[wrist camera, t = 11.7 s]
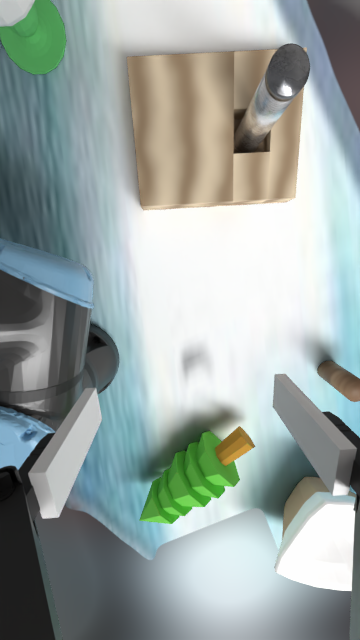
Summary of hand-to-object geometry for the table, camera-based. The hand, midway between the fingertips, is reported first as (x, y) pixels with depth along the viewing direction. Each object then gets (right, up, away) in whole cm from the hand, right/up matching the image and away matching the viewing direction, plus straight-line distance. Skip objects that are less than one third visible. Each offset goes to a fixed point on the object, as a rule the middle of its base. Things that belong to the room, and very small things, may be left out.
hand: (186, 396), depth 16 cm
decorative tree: (+1, -26, +35) cm, 44 cm away
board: (+5, +33, +18) cm, 38 cm away
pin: (+10, +34, +18) cm, 39 cm away
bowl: (+33, -39, +40) cm, 65 cm away
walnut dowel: (+30, -5, +30) cm, 43 cm away
